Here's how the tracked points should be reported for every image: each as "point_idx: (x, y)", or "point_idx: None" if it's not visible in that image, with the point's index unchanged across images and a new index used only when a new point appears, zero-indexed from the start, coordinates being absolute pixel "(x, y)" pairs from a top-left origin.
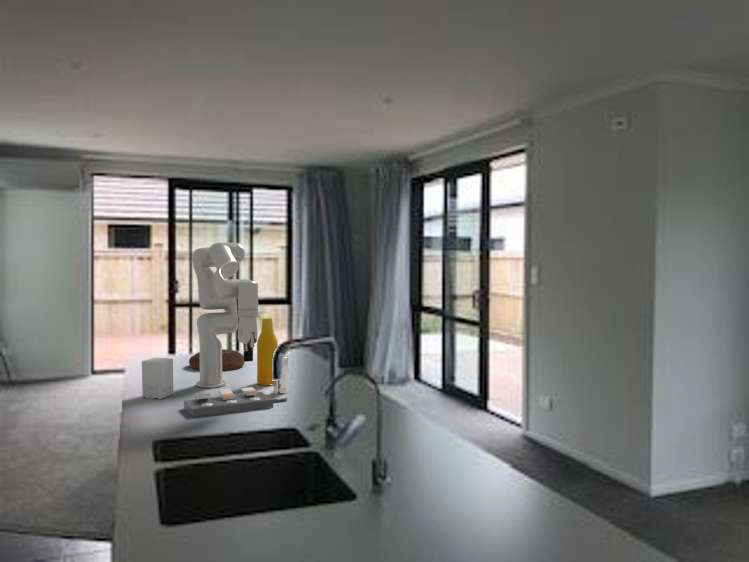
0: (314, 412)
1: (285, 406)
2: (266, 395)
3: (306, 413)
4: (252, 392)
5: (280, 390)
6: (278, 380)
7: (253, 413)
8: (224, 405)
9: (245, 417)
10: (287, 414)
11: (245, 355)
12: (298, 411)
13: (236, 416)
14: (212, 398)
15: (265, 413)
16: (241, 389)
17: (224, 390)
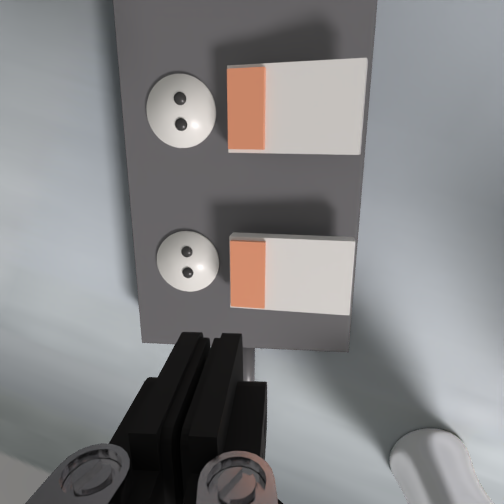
0: (8, 430)
1: (149, 374)
2: (245, 345)
3: (3, 399)
4: (231, 273)
5: (400, 460)
6: (425, 502)
7: (81, 200)
8: (117, 43)
9: (19, 138)
10: (11, 329)
11: (158, 387)
12: (44, 386)
13: (53, 100)
14: (339, 14)
15: (60, 252)
16: (349, 239)
17: (332, 102)
